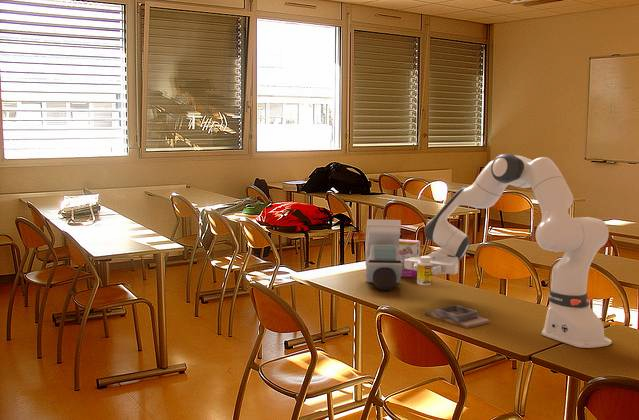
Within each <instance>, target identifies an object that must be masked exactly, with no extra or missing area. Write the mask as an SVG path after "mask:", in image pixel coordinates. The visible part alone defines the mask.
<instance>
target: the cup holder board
mask: <svg viewBox="0 0 639 420" xmlns="http://www.w3.org/2000/svg"><path fill="white" fill-rule="evenodd" d="M423 314H424V315H426V316H429V317H431V318H435V319H438V320H441V321H444V322H446V323H450V324H453V325H455V326H459V327H462V328H464V329H469V328H472V327H477V326H482V325H485V324H489V323H490V322H491V319H488V318H485V317H482V316H480V315H479V311H478V310H475V309H471V308H469V307H465V306H462V305H459V304H452V305H448V306H442V307H438V308H435V309H430V310H426V311H424V312H423Z"/></svg>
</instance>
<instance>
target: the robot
mask: <svg viewBox="0 0 639 420" xmlns="http://www.w3.org/2000/svg"><path fill="white" fill-rule="evenodd" d="M401 227H402V223H401V219H372V218H371V219H369V218H368V219H366V231H365V233H366V234H365V245H364V246H365V253H364V254H365V266H366V267H365V281H366V282H367V283H373V284H374V286H375V288H377V289H378V290H380V291H389V290H391V289H393V288H394V287H395V285H396V284H400V283H401V279H402V277H401V273H402V263H401V262H402V261H401V258H400V254H399V239H400V237H401Z"/></svg>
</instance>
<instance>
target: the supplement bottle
mask: <svg viewBox="0 0 639 420" xmlns="http://www.w3.org/2000/svg"><path fill="white" fill-rule="evenodd" d="M419 258H420V261H419V262H418V266H417V278H416V283H417V284H418V285H420V286H429V285H430V286H431V285H432V283H433V274H432V272H431V268H432V267H433V263H432V262H430V261H431V257H429V256H427V255H421V256H420V255H419Z"/></svg>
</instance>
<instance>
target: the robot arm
mask: <svg viewBox="0 0 639 420" xmlns="http://www.w3.org/2000/svg"><path fill="white" fill-rule="evenodd" d="M509 185H510V186H512V187H515V188H523V189H528V190H532V192H533V194H534V197H535V198H536V200H537V203H538V206H539V207H540V212H541V221H540V222H539V224H538V225H537V228H536V229H535V240H536V243H537V244H538V246H539V247H540V248H541V249H542V250H544V251H550V252H556V253H560V252H564V254H563V256H562V257H561V259H560V260H559V261H558V262H556V263H555V264H554V265H553V267H552V269H551V281H550V282H551V283H550V284H551V285H550V289H549V290H548V291H549V293H548V301H549V305H548V308H547V310H546V315H545V316H546V317H545V321H544V326H543V329H542V331H541V335H542V336H544V337H547V338H549V339H552V340H555V341H558V342H561V343H563V344H568V345H570V346H574V347H576V348H584V349H585V348H587V349H588V348H589V349H591V348H592V349H593V348H594V349H595V348H602V347H607V346H610V345H612V343H613V342H612V340H611V339H610V338H608V337H606V336H605V327H604V323H603V321H601V319H600V318H599V317H598V316H597V314H596V313H595V312H594V310H593V309H592V308H591V306H590V305H591V304H590V303H592V302H593V298H589V296H588V293H587V286H588V285H587V284H588V276H589V271H590V267H591V264H592V262H593V260H594V258H595V257H596V254H597V253H598V252H599V250H600V249H601V248H603V246H605V245H606V243H607V242H608V240H609V237H610V235H609V233H610V230H609V227H608V225H607V224H606V223H605V221H604V220H602V219H601V218H596V217H591V216H579V217H578V216H577V217H575V216H574V217H572V216H571V215H570V213H569V209H570V208H571V207H572V206H573V203H574V195H573V194H572V191H571V189H570V187H569V185H568V183H567V181H566V179H565V177H564V175H563V174H562V172H561V170H560V169H559V167H558V166H557V165H556V164H555V162H554V161H553V159H551V158H549V157H547V156H541V157H537V158H535V159H530V158H528V157H525V156H523V155H517V154H512V153H502V154H498V155H497V156H495V158H494V159H493V160H491V161H489V162H487V164H486V165H485V166H484V168H483V169H482V171H480V173H479V174H478V176H477V177H476V179H475V180H474V182H473V183H472V184H471V185H469V186H463V187H461V188H459V190H458V191H456V192H455V193H454V194H453V195H452V196H451V198H449V200H447V202H446V203H445V204H444V205H443V206H442V207H441V209H440V210H439V211H438V212H437V213H436V215H434V216H433V217H432V218H431V219H430V220H429V221H427V223H426V225H425V226H424V229H423V230H424V234H425V237H426V239H427V240H429V241H431V242H433V243H435V244H437V245H438V246H439V247H440V248H438V249H436V250H434V251H431V252H430V253H428V254H427V255H426V256H429V257H431V261H430V262H432V263H433V267H432V268H431V272H432V275H436V276H437V275H444V274H445V275H456V274H458V273H459V261H460V260H461V259H463V258H464V257H465V255H466V254H467V252H468V251H469V248H470V245H471V242H470V237H469V235H467V234H466V233H464V231H462V230H460V229H458V228H457V227H456V226H454V225H452V223H450V222H449V221H448V218H449V217H450V216H451V214H453V213H454V212H455V210H457V208H458V207H459V206H467V207H471V208H475V209H489V208H491V207H493V206H494V205H495V204H496V203H498V200H500V198H501V197H502V195H503V193H504V191H505V190H506V188H507V187H508V186H509ZM419 261H420V257H419V258H418V257H411V258H408V259H405V261H404V268H406V269H412V270H416V271H417V266H418V262H419Z"/></svg>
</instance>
